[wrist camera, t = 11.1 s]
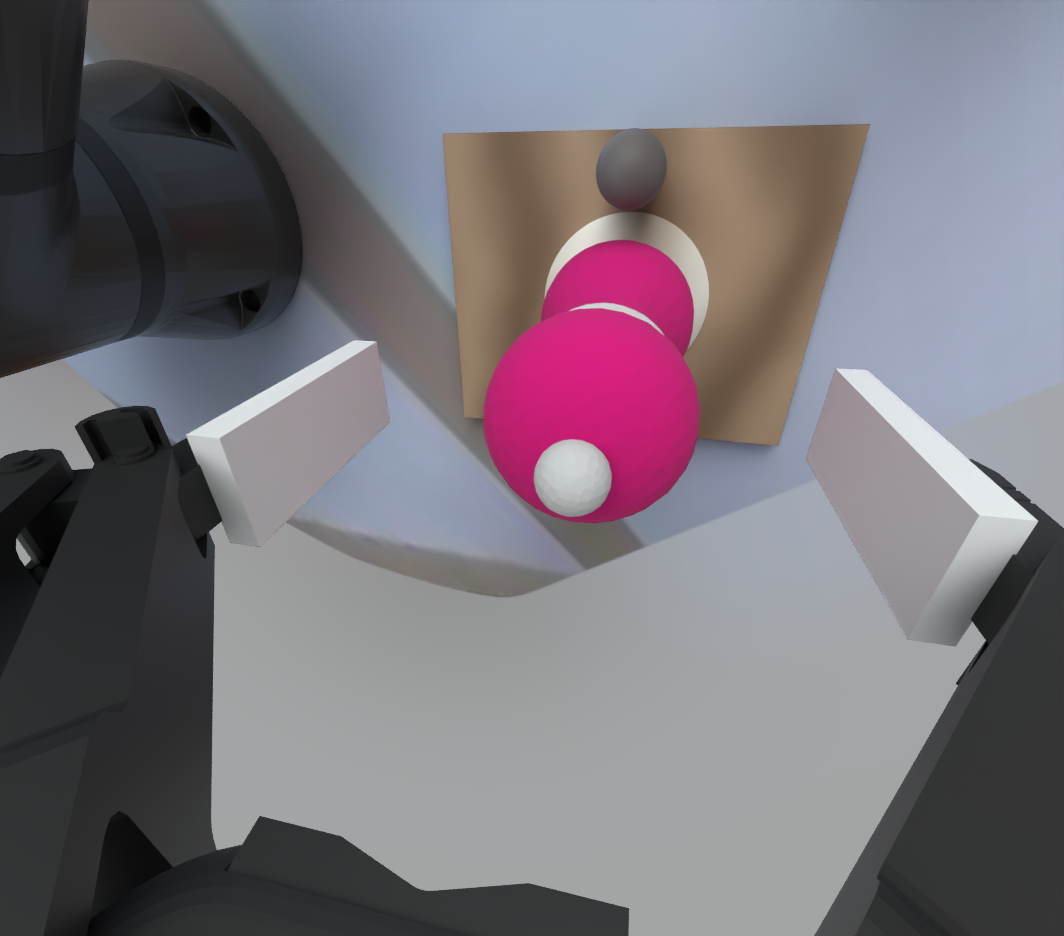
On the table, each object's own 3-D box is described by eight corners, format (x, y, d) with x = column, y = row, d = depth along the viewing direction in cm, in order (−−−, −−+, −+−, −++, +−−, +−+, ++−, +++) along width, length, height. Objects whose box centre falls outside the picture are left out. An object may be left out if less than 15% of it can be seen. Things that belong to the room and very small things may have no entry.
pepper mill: (705, 339, 27) (787, 593, 10) (585, 383, 30) (497, 639, 13) (664, 206, 25) (685, 257, 8) (537, 267, 27) (346, 405, 10)
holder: (471, 408, 35) (424, 466, 27) (452, 135, 26) (378, 118, 19) (773, 434, 31) (808, 510, 24) (858, 127, 23) (950, 102, 16)
